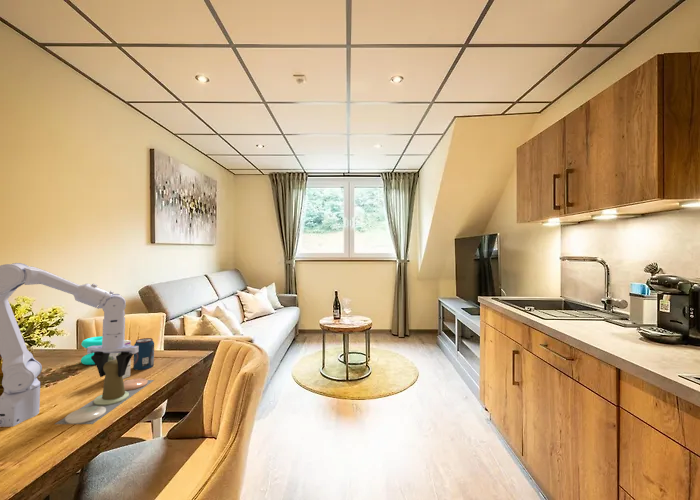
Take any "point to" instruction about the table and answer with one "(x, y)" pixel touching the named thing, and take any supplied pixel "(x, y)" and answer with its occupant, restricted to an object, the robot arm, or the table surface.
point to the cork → (112, 381)
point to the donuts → (87, 343)
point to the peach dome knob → (134, 384)
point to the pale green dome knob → (110, 400)
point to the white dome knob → (85, 414)
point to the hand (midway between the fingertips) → (112, 375)
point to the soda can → (144, 354)
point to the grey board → (108, 407)
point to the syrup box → (113, 355)
